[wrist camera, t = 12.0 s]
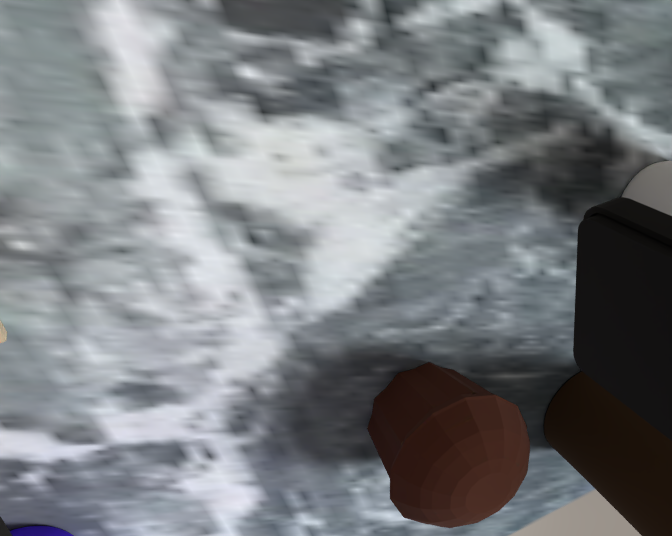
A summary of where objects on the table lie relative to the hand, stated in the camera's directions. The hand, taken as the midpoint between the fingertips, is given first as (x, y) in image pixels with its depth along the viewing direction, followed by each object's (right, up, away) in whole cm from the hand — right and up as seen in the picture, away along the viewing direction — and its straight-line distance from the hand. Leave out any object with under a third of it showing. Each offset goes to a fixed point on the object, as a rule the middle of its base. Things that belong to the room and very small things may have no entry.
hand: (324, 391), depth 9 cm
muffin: (+7, -10, +42) cm, 44 cm away
